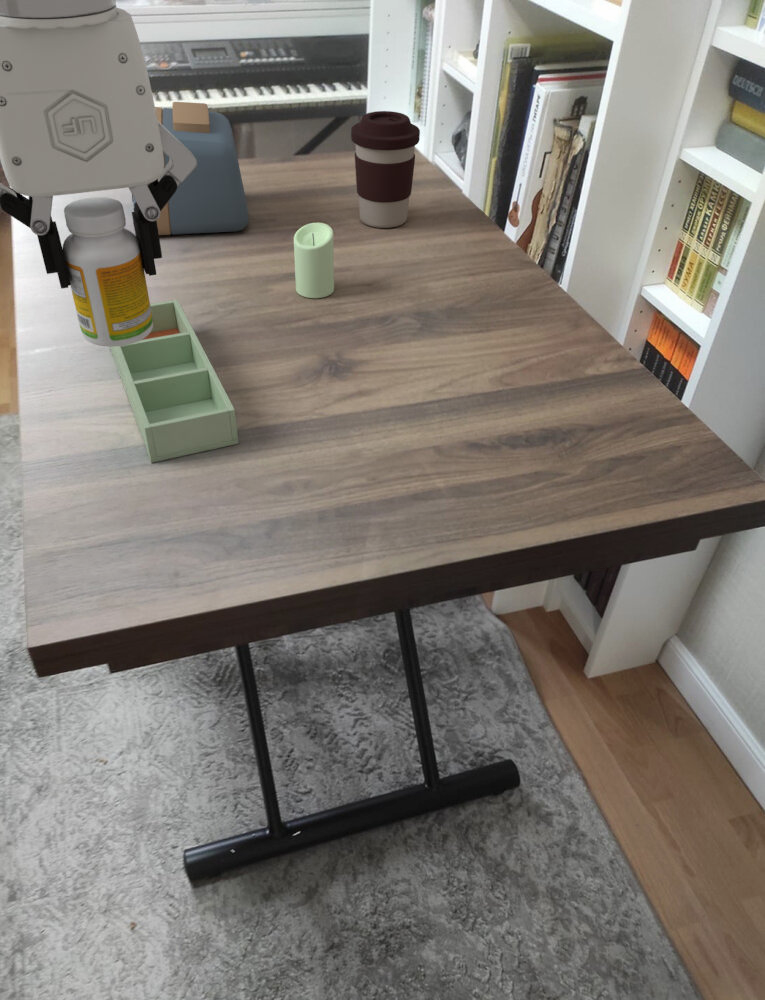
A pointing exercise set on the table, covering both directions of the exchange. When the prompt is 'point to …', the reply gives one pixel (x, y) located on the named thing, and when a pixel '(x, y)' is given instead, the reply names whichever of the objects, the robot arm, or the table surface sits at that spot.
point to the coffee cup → (384, 166)
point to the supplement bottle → (106, 273)
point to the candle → (314, 260)
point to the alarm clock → (203, 174)
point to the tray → (175, 389)
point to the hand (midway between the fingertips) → (106, 271)
